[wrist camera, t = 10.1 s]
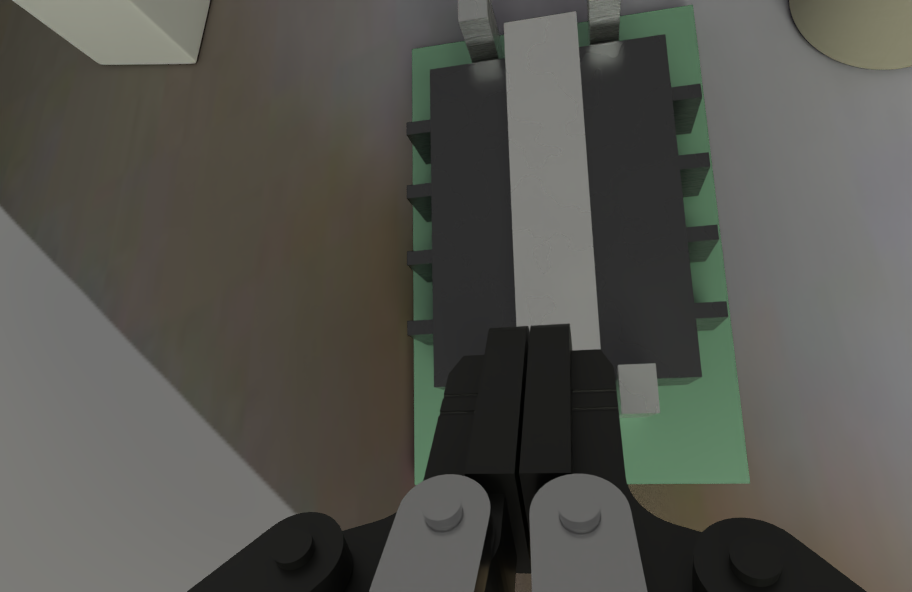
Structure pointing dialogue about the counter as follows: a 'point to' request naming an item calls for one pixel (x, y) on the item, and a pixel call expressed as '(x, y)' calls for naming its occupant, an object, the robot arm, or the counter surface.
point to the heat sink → (611, 201)
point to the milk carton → (127, 28)
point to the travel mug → (858, 30)
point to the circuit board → (717, 392)
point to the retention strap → (550, 178)
